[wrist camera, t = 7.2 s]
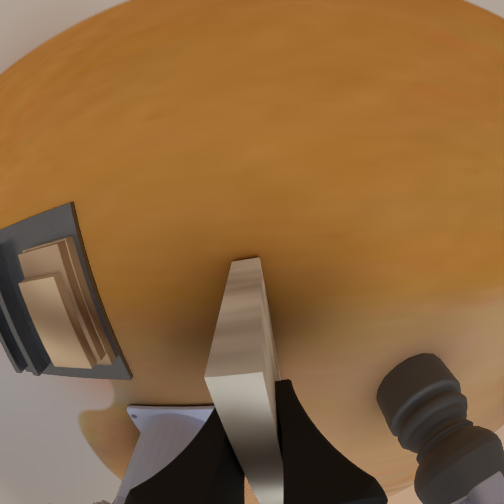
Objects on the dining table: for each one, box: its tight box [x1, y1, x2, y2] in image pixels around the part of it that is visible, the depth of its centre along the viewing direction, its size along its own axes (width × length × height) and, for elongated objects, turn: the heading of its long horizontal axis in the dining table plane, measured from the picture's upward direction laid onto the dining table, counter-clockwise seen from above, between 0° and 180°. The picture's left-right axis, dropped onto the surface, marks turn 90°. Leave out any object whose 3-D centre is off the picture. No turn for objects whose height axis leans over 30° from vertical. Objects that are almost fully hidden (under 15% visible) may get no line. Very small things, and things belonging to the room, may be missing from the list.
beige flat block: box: [204, 257, 283, 504], centre depth 12 cm, size 10×2×9 cm, turn 10°
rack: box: [0, 202, 133, 380], centre depth 16 cm, size 13×13×2 cm
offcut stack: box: [18, 235, 116, 369], centre depth 16 cm, size 9×5×2 cm, turn 10°
